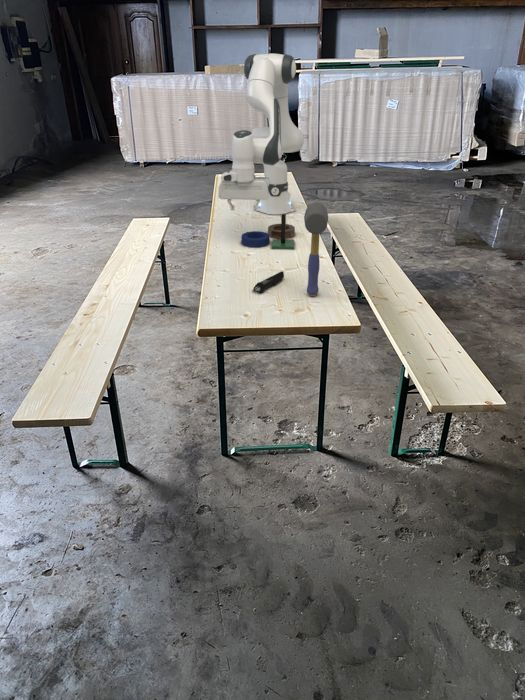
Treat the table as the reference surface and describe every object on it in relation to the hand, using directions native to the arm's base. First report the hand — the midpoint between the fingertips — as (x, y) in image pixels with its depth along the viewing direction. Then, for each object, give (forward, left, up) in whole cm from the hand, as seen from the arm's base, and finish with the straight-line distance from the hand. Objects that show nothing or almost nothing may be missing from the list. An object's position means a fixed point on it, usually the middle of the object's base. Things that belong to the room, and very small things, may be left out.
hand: (243, 210), depth 216 cm
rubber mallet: (+51, +28, -14) cm, 60 cm away
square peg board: (+2, +16, -14) cm, 22 cm away
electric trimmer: (+44, +13, -14) cm, 48 cm away
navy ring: (0, +5, -14) cm, 15 cm away
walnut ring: (-12, +15, -14) cm, 24 cm away
